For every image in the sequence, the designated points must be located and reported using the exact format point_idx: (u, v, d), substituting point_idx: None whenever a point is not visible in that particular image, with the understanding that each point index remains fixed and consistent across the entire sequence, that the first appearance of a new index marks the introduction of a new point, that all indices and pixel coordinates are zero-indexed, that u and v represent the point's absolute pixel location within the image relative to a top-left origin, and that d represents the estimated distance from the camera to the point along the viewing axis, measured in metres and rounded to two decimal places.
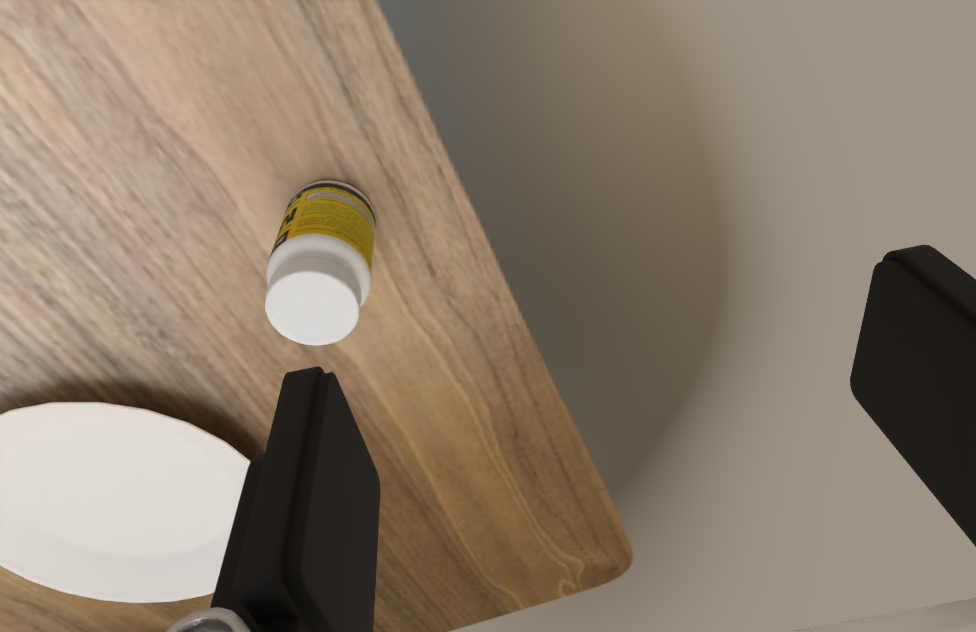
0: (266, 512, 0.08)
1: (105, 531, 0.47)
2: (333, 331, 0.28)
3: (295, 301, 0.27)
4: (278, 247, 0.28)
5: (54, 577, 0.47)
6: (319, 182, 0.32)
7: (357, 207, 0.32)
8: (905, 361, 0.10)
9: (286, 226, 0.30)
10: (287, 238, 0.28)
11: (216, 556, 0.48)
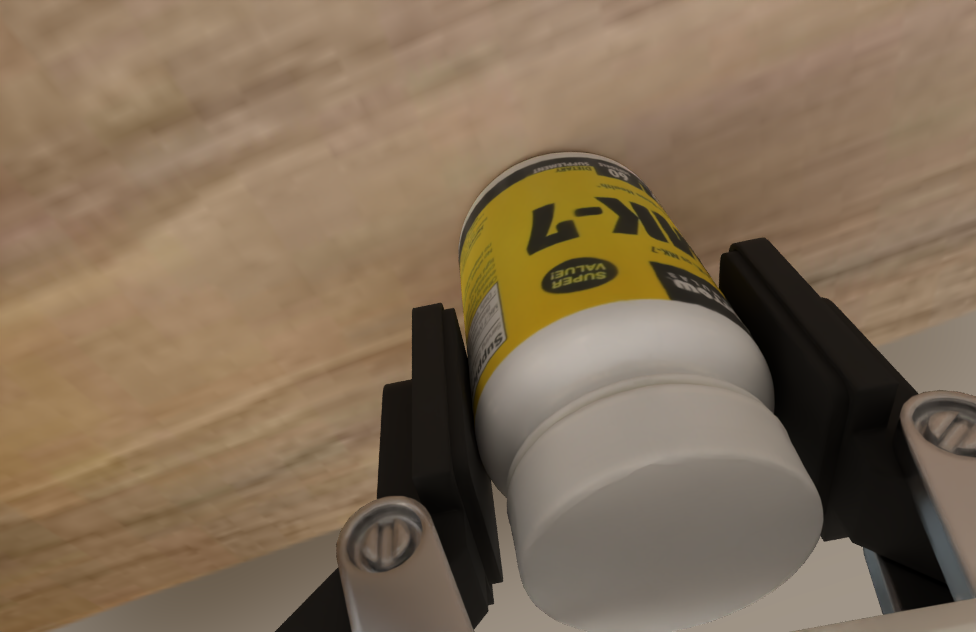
0: (427, 417, 0.09)
1: None
2: (576, 598, 0.09)
3: (721, 526, 0.08)
4: (755, 344, 0.09)
5: None
6: None
7: None
8: None
9: None
10: None
11: None
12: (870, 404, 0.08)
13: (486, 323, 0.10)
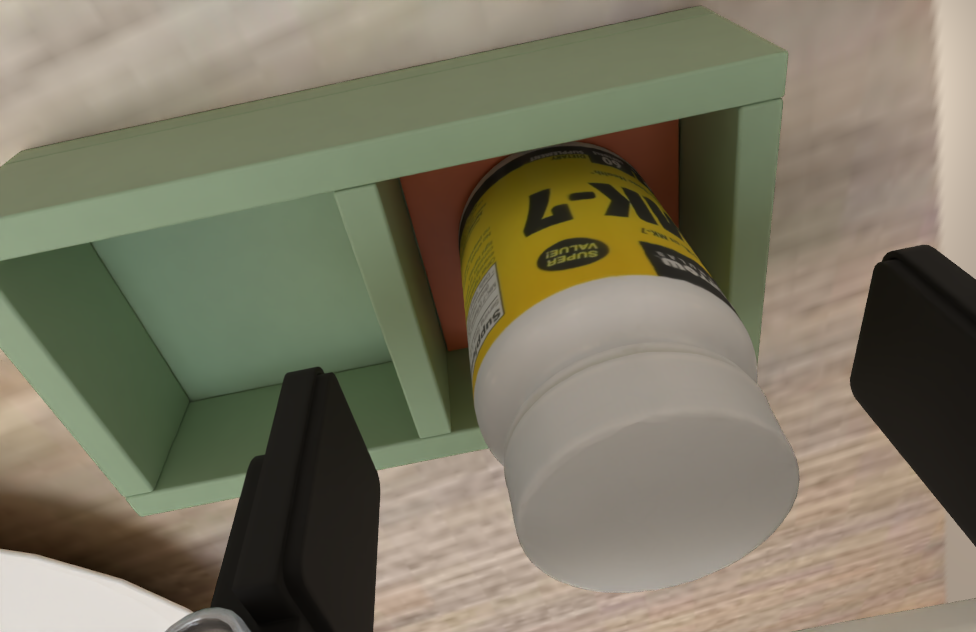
0: (266, 512, 0.08)
1: None
2: (569, 554, 0.09)
3: (703, 484, 0.09)
4: (739, 319, 0.10)
5: None
6: None
7: None
8: (905, 361, 0.10)
9: (702, 264, 0.12)
10: None
11: None
12: None
13: (485, 302, 0.11)
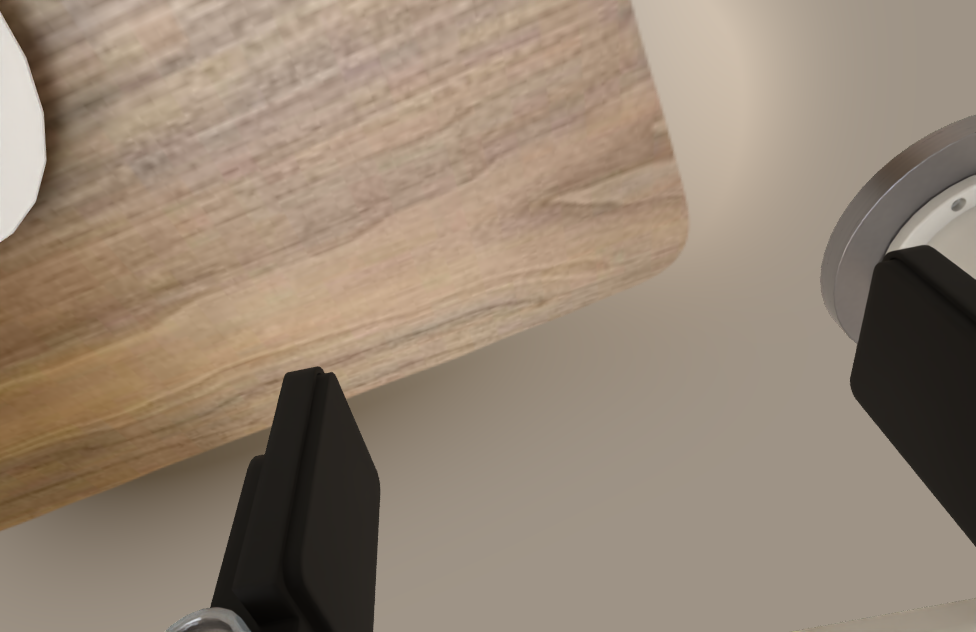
0: (266, 512, 0.08)
1: None
2: None
3: None
4: None
5: None
6: None
7: None
8: (905, 361, 0.10)
9: None
10: None
11: None
12: None
13: None
